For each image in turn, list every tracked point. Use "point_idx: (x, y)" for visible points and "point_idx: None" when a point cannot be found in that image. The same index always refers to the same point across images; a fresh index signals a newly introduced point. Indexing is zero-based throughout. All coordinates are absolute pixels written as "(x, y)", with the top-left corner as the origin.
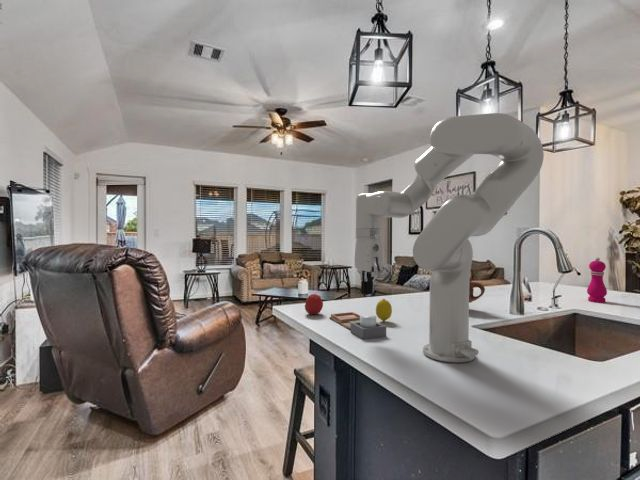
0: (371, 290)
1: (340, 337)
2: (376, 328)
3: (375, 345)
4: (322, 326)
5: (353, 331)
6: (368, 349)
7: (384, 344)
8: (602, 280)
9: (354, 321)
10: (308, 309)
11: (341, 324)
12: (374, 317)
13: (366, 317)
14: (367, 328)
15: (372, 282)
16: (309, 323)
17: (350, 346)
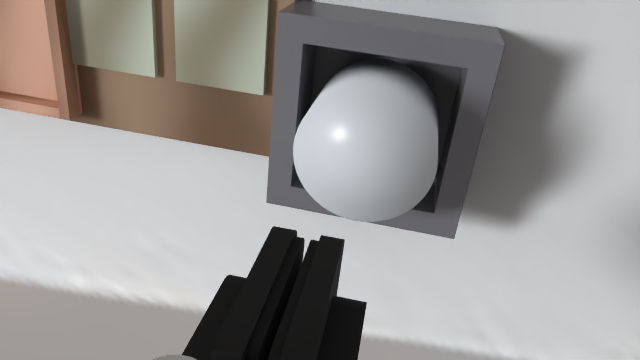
0: (365, 306)
1: (348, 274)
2: (480, 133)
3: (600, 219)
4: (103, 227)
5: None
6: (626, 292)
7: (627, 162)
8: None
9: (97, 28)
10: None
11: (110, 125)
12: (422, 136)
13: (384, 190)
14: (460, 204)
15: (314, 358)
16: (24, 247)
17: (516, 327)
